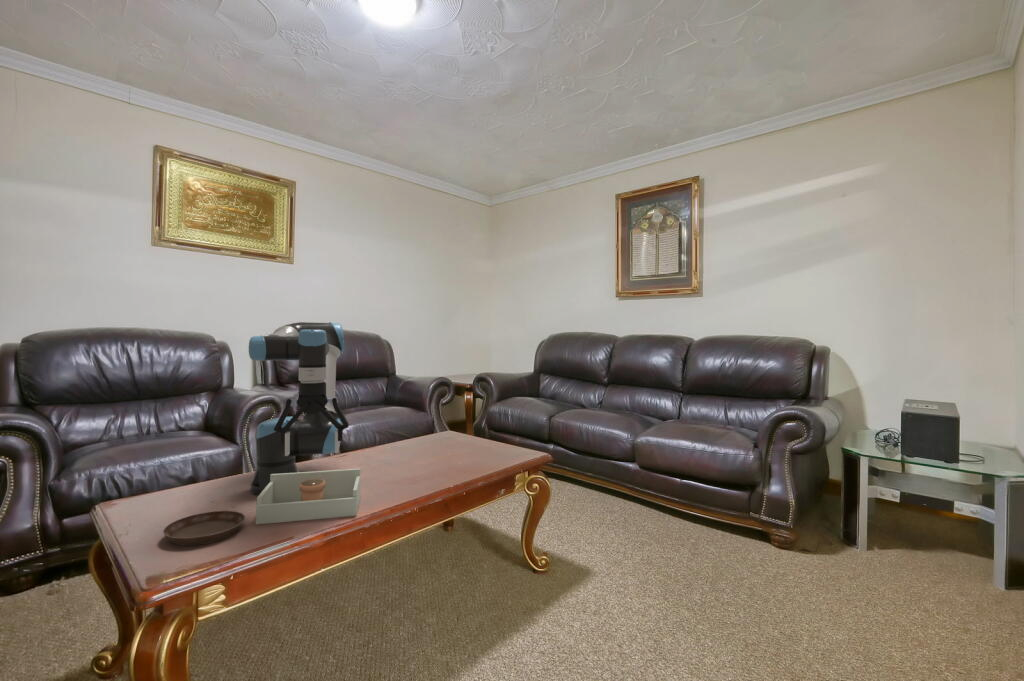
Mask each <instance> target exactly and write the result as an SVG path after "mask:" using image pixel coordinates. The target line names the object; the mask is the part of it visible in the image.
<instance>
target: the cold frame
mask: <svg viewBox="0 0 1024 681" xmlns="http://www.w3.org/2000/svg"><path fill="white" fill-rule="evenodd" d="M310 479H323V480H325V487H324V488H323V500H313V501H301V491H300V490H299V484H300V483H301V482H303V481H305V480H310ZM360 499H361V468H349V469H348V468H347V469H333V470H331V469H330V470H316V471H315V470H313V471H303V472H300V471H298V472H297V473H282V474H271V475H270V483H269V484H268V485H267V486H266V487H265V489H264V490H263V491H262V492H261V493H260V495H257V497H256V506H255V525H265V524H275V523H276V524H277V523H286V522H288V523H289V522H298V521H308V520H309V521H310V520H311V521H312V520H322V519H323V520H324V519H335V518H344V517H356V516H357V515H358V509H359V504H360Z"/></svg>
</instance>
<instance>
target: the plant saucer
mask: <svg viewBox="0 0 1024 681" xmlns="http://www.w3.org/2000/svg"><path fill="white" fill-rule="evenodd" d="M245 519H246V516H245V514H243V513H242V512H239V511H234V510H216V511H209V512H203V513H195V514H193V515H189V516H187V517H183V518H179V519H177V520H175V521H173V522H171V523H170V524H168V525H166V526H165V527H164V528H163V530H162V533H163V536H165V538H166V539H167V540H169V541H170V542H171V543H173V544H175V545H179V546H185V545H190V546H199V544H201V545H205V543H206V544H210V542H211V543H213V541H214V542H218V541H221V540H223V539H225V537H226V538H227V536H228V537H230V536H231V535H233V534H234V533H235V532H237V530H238V529H239V528H240V527H241V526H242V525H243V523H244V522H245ZM229 535H230V536H229ZM220 539H221V540H220ZM217 540H218V541H217Z"/></svg>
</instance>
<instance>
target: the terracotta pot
mask: <svg viewBox="0 0 1024 681" xmlns="http://www.w3.org/2000/svg"><path fill="white" fill-rule="evenodd" d="M324 487H325V480H323V479H310V480H305V481H303V482H301V483H300V484H299V490H300V491H301V501H313V500H323V488H324Z"/></svg>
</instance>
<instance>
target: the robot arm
mask: <svg viewBox="0 0 1024 681" xmlns="http://www.w3.org/2000/svg"><path fill="white" fill-rule="evenodd" d="M344 337H345V336H344V329H343V326H342V324H340V323H338V322H308V321H307V322H302V321H299V322H294V323H293V322H292V323H289V324H285V325H282V326H280V327H278V328H276V329H275V330H274V332H273V333H271V334H269V335H259V336H257V335H256V336H255V335H254V336H252V337H250V339H249V340H248V341H249V342H248V356H249V358H250V360H252V361H259V362H260V361H261V362H265V361H268V362H269V361H298V381H299V383H298V397H297V398H292V397H290V398H287V400H286V401H285V402H286V404H285V407H284V409H283V411H282V413H281V414H280V417H276V418H275V417H274V418H270V419H268V420H264V421H262V422H260V423H259V424H258V425H257V427H256V436H255V439H256V441H255V442H256V444H255V445H256V451H255V452H256V468H255V471H254V474H253V476H252V479H251V482H250V488H249V489H250V493H251V494H252V495H257V496H259V495H260V493H261V492H262V491H263V490H264V489H265V487H266V486H267V485H268V484H269V483H270V475H271V474H282V473H297V472H299V469H298V467H297V465H296V457H297V456H313V455H326V454H333V453H335V454H338V453H339V450H340V446H341V442H342V440H343V438H344V437H343V435H344V433H343V430H344V429H348V428H349V426H350V424H349V421H348V420H347V417H346V415H345V414H344V412H343V411H342V409H341V407H340V404H339V402H338V401H339V399H338V397H336V381H337V380H336V378H337V359H338V358H340V356H341V355H342V354H341V353H343V352H345V351H346V350H345V346H346V345H345V339H344ZM295 404H296V405H297V406H298V407H299V409H298V410H297V412H296V413H295V414H294V415H293V416H288V414H289V413H290V411H291V409H292V407H294V406H295ZM302 414H303V419H302V420H297V419H299V418H300V417H301V416H302Z"/></svg>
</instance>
